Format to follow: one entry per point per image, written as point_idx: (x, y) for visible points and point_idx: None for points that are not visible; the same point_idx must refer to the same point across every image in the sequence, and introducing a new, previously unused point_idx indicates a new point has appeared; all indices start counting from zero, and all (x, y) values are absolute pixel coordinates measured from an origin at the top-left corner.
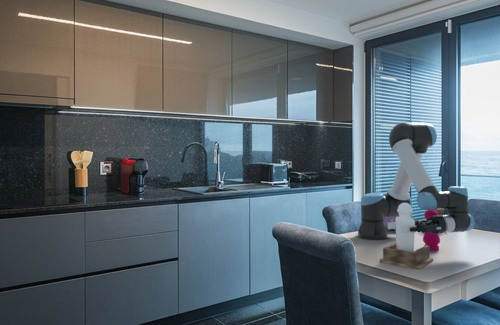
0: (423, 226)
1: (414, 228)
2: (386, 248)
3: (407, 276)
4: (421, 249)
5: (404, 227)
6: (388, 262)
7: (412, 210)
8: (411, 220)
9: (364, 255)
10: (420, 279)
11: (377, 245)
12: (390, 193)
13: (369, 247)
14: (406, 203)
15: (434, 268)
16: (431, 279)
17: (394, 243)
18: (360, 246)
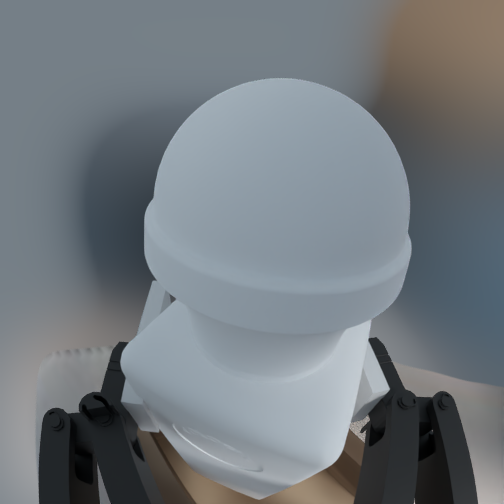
0: (50, 416)
1: (109, 367)
2: None
3: (94, 349)
4: (166, 497)
5: (150, 297)
6: None
7: (155, 253)
8: (143, 332)
9: None
10: (59, 356)
11: (500, 443)
12: None
13: (475, 413)
14: (248, 82)
15: (107, 498)
16: (41, 378)
17: (359, 441)
18: (480, 389)
